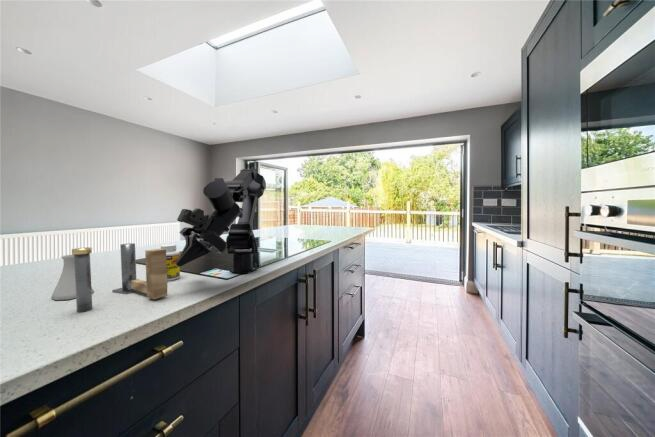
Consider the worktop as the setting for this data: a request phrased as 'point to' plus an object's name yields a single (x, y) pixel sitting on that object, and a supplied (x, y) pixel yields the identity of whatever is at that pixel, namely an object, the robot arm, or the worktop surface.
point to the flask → (66, 281)
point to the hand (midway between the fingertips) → (177, 265)
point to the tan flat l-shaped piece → (153, 275)
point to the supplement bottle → (171, 261)
